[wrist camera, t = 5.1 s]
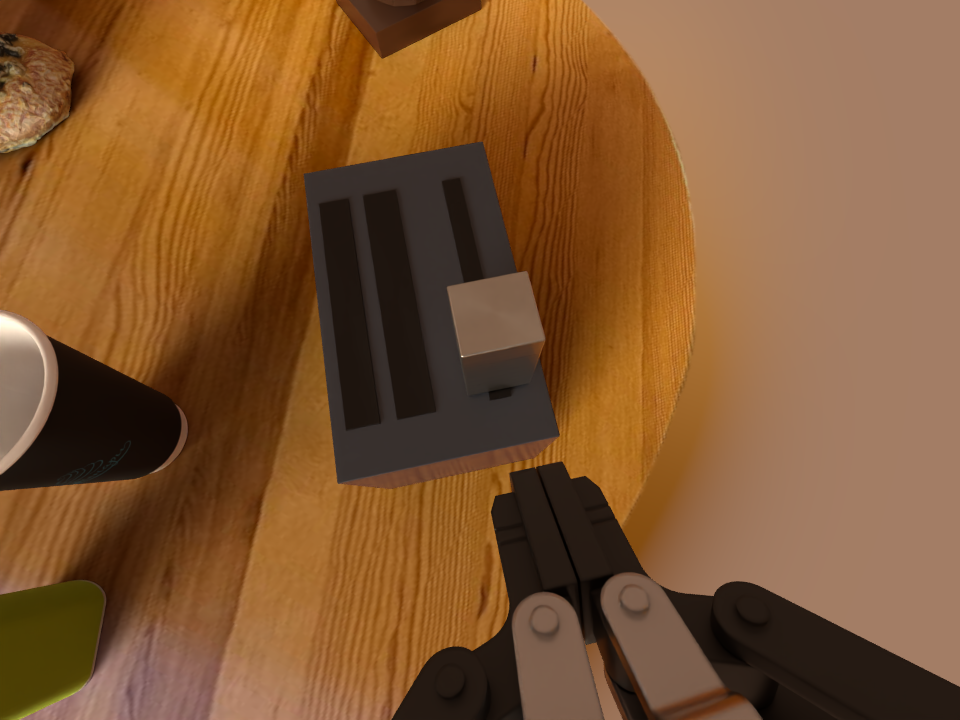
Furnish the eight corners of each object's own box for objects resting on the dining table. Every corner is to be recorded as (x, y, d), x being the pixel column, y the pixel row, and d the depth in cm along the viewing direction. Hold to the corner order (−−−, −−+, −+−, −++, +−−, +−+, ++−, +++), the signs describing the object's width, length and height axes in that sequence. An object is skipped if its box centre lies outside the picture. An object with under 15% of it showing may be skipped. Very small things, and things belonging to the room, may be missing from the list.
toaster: (534, 457, 27) (560, 435, 18) (390, 489, 27) (336, 483, 17) (484, 248, 32) (482, 139, 22) (359, 272, 31) (302, 171, 22)
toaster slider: (530, 383, 18) (546, 340, 13) (467, 396, 18) (461, 357, 13) (516, 329, 19) (527, 269, 14) (456, 341, 19) (445, 285, 14)
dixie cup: (165, 523, 27) (-44, 539, 16) (59, 470, 28) (-204, 454, 17) (236, 402, 29) (92, 347, 18) (135, 357, 30) (-57, 281, 19)
